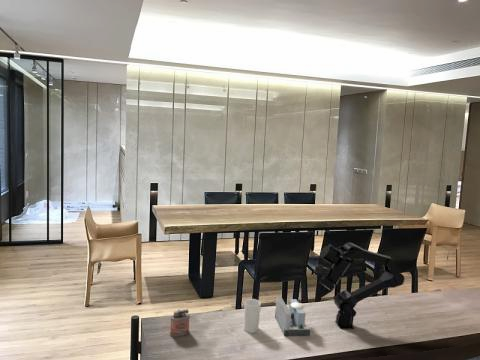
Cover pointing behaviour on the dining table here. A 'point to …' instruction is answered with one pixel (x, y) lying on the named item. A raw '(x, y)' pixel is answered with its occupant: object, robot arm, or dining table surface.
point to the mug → (251, 315)
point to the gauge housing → (287, 320)
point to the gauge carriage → (297, 313)
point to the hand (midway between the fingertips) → (318, 298)
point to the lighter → (180, 323)
